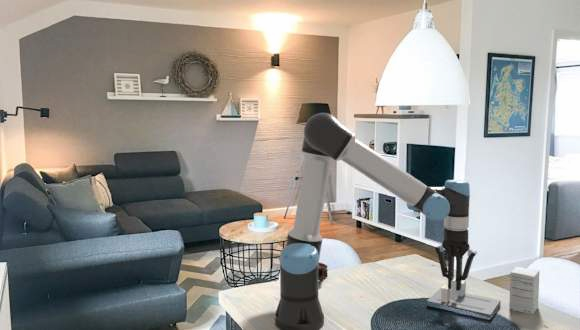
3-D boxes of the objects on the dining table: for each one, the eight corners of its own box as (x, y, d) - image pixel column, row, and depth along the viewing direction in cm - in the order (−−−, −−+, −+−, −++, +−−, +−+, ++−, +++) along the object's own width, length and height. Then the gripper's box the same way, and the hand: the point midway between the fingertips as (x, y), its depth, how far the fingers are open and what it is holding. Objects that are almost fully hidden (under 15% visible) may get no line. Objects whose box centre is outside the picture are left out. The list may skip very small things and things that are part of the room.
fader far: (462, 296, 162) (462, 283, 162) (456, 295, 163) (456, 282, 163) (465, 293, 165) (465, 280, 164) (459, 292, 166) (459, 279, 166)
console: (489, 321, 148) (490, 315, 148) (426, 307, 159) (426, 301, 159) (500, 305, 160) (500, 299, 160) (440, 293, 172) (440, 287, 171)
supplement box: (514, 302, 163) (516, 266, 162) (538, 307, 158) (540, 270, 157) (508, 309, 157) (509, 271, 156) (533, 315, 153) (534, 276, 151)
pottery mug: (297, 281, 187) (302, 260, 190) (316, 287, 191) (321, 267, 194) (315, 281, 177) (320, 259, 180) (335, 288, 182) (339, 267, 185)
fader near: (447, 302, 157) (447, 289, 157) (441, 301, 158) (441, 287, 158) (450, 299, 160) (450, 285, 159) (444, 298, 161) (444, 284, 161)
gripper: (480, 228, 154) (477, 299, 157) (439, 223, 162) (438, 291, 164) (474, 233, 148) (471, 307, 151) (432, 227, 156) (430, 298, 158)
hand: (454, 298), depth 157 cm, fingers closed
